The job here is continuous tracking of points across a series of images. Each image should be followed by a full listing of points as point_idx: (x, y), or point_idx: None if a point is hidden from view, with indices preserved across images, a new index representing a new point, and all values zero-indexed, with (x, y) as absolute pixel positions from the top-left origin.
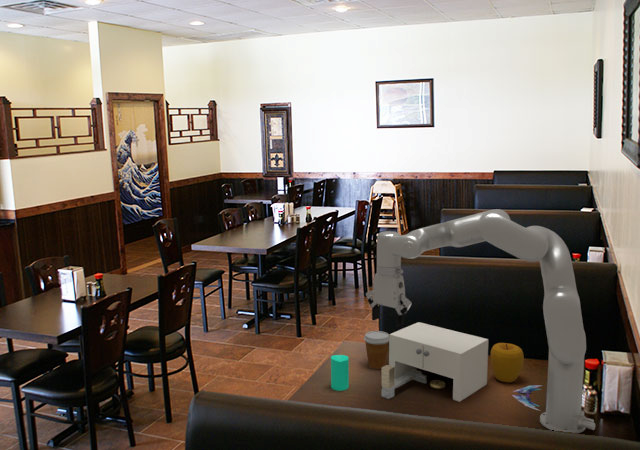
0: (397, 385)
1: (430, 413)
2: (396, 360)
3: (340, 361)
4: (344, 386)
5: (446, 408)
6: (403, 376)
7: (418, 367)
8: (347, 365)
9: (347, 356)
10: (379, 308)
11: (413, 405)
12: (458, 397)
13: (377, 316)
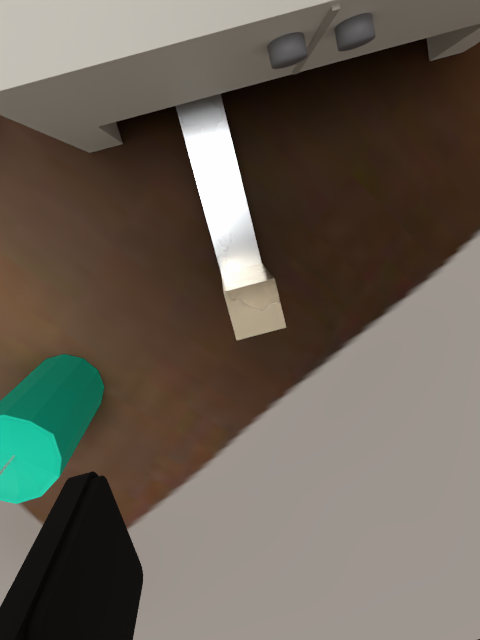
0: (255, 239)
1: (448, 237)
2: (106, 122)
3: (49, 470)
4: (100, 395)
5: (463, 152)
6: (198, 150)
7: (263, 81)
8: (65, 421)
9: (12, 417)
10: (48, 615)
11: (363, 247)
12: (466, 47)
13: (109, 539)
